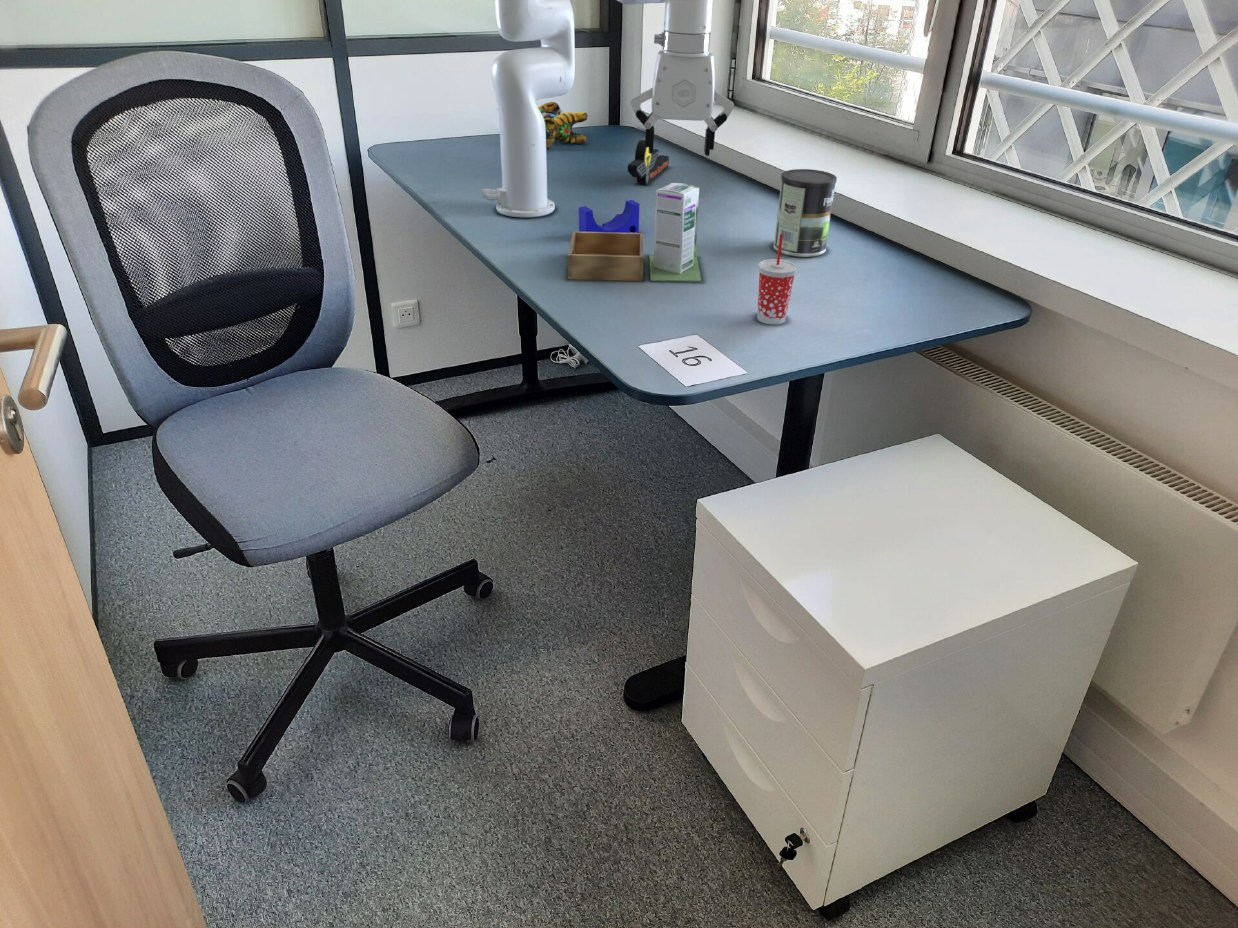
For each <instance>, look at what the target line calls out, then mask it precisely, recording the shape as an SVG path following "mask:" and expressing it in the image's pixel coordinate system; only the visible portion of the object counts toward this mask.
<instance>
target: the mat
mask: <svg viewBox="0 0 1238 928" xmlns="http://www.w3.org/2000/svg"><path fill="white" fill-rule="evenodd" d="M649 279H650V282H668V283H669V282H672V283H673V282H676V283H702V278H701V272H700V266H699V261H698V256H697V255H696V256H695V265H694V266H692V267H690V268H689V269H687V270H685V271H683V272H682V273H681V274H678V273H673V272H668V271H664V270H660V269H657V268H655V267H654V254H649Z"/></svg>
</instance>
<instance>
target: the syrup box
mask: <svg viewBox="0 0 1238 928" xmlns="http://www.w3.org/2000/svg"><path fill="white" fill-rule="evenodd" d="M699 195H700V187H698V186H696V185H692V184H688V183H681V182H670V184H667V185H666V186H663V187H661V188H658V189H656V190H655V212H654V213H655V214H654V215H655V216H654V219H655V220H654V250H653V252H654V253H653V255H654V267H655V268H657V269H660V270H664V271H668V272H673V273H678V274H681V273H682V272H683V271H685V270H687V269H689V268H690V267H692V266H694V265H695V256H697V254H696V253H697V237H698V236H697V234H698V220H699V219H698V216H699V215H698V214H699V198H700V196H699Z"/></svg>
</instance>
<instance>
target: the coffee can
mask: <svg viewBox="0 0 1238 928" xmlns="http://www.w3.org/2000/svg"><path fill="white" fill-rule="evenodd" d="M780 179H781V181H780V190H779V199H778V206H777V207H778V208H777V215H776V223H775V224H776V225H775V231H774V232H775V234H774V240H773V249H774V250H775V251H776V252H778V247H779V239H780V234H783V240H782V248H781V255H782V254H783V255H786V256H791V257H799V258H813V257H814V258H815V257H818V256H822V255H823V254H825V252H827V242H828V236H829V235H828V234H829V228H830V221H831V215H832V209H833V201H834V194H835V189H836V183H837V181H838V177H837V176H836V175H835V174H833V173H831V172H829V171H824V170H819V169H811V168H810V169H809V168H796V169H789V170H785V171H783V172H781V174H780Z"/></svg>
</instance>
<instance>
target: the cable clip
mask: <svg viewBox="0 0 1238 928" xmlns="http://www.w3.org/2000/svg"><path fill="white" fill-rule="evenodd" d="M624 203H625V204H624V207H623V210H622V212H621V213H617V214H615V216H614V217H613V218H612V219H611V220H609V221H607V222H604V223H601V225H600V224H598V223H597V221H596V220H595V217H594V213H593V212H594V211H593V209H591V208H589V207H588V206H586V205H585V206H578V232H615V233H640V232H639V231H640V203H639V202H637V201H635V200H633V199H629V200H625V202H624Z"/></svg>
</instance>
